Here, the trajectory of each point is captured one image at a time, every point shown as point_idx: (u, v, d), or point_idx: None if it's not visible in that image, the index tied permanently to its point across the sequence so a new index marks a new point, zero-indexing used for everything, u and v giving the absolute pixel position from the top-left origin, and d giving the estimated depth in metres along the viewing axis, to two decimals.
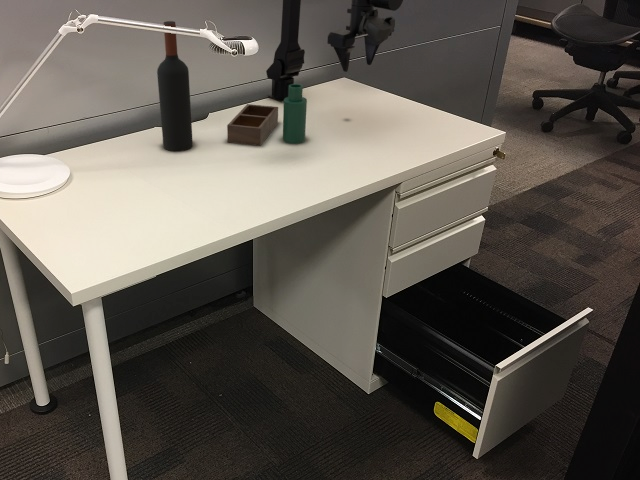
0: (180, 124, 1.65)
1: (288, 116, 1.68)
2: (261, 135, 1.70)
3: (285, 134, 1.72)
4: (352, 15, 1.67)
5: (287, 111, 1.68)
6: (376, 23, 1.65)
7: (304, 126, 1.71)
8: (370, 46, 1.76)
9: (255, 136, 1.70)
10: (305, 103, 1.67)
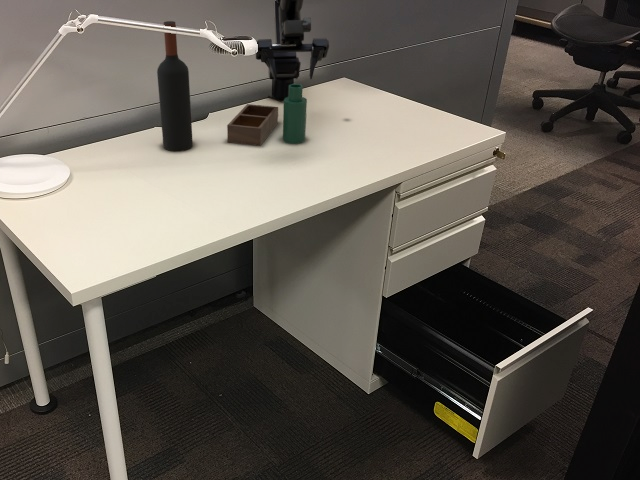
0: (180, 124, 1.65)
1: (288, 116, 1.68)
2: (261, 135, 1.70)
3: (285, 134, 1.72)
4: None
5: (287, 111, 1.68)
6: None
7: (304, 126, 1.71)
8: None
9: (255, 136, 1.70)
10: (305, 103, 1.67)
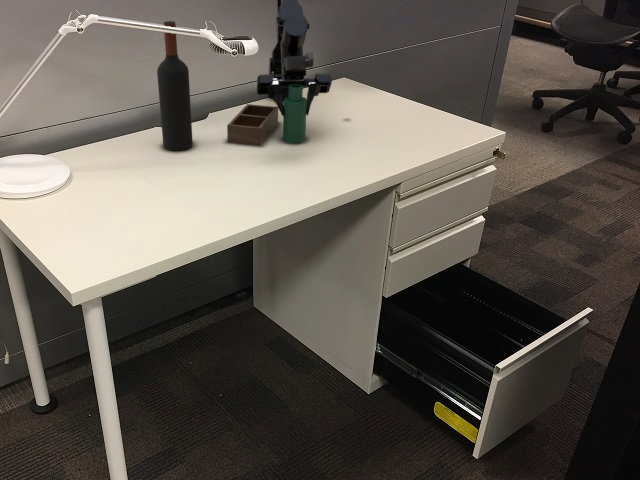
0: (180, 124, 1.65)
1: (288, 116, 1.68)
2: (261, 135, 1.70)
3: (285, 134, 1.72)
4: None
5: (287, 111, 1.68)
6: None
7: (304, 126, 1.71)
8: (307, 98, 1.70)
9: (255, 136, 1.70)
10: (305, 103, 1.67)
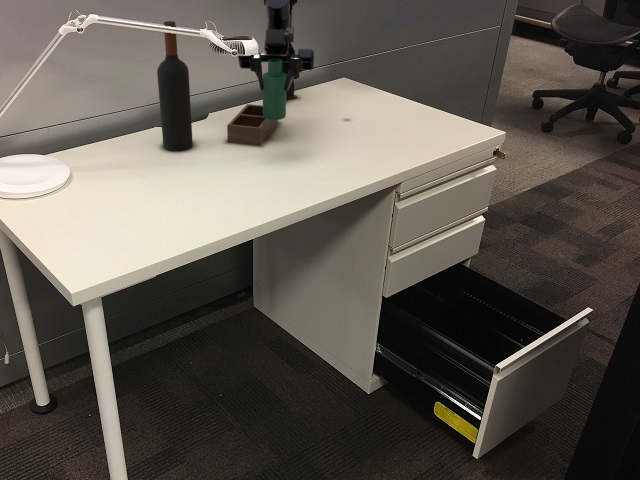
0: (180, 124, 1.65)
1: (266, 91, 1.65)
2: (261, 135, 1.70)
3: (264, 110, 1.69)
4: None
5: (265, 86, 1.65)
6: None
7: (283, 102, 1.67)
8: None
9: (255, 136, 1.70)
10: (284, 78, 1.64)
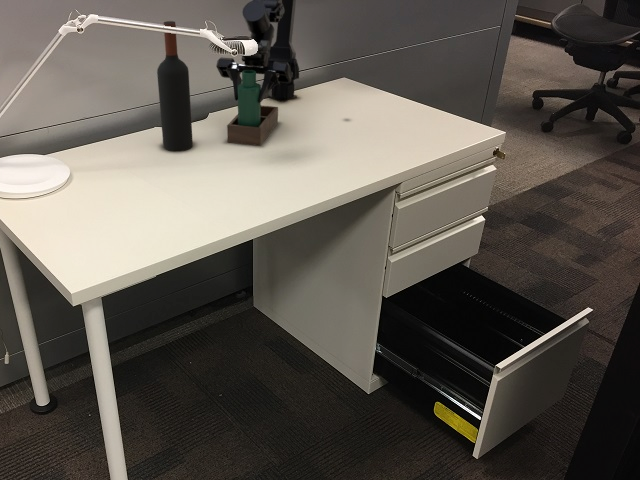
0: (180, 124, 1.65)
1: (239, 101, 1.69)
2: (261, 135, 1.70)
3: (238, 119, 1.72)
4: None
5: (238, 96, 1.68)
6: None
7: (256, 113, 1.70)
8: None
9: (255, 136, 1.70)
10: (256, 90, 1.66)
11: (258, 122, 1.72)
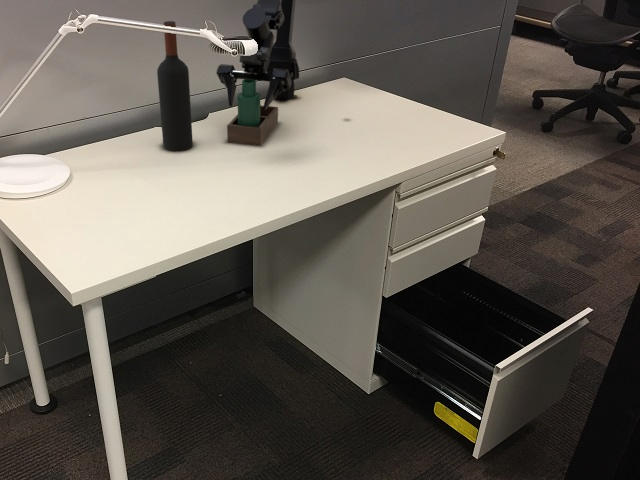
0: (180, 124, 1.65)
1: (239, 110, 1.70)
2: (261, 135, 1.70)
3: None
4: None
5: (238, 105, 1.70)
6: None
7: (256, 122, 1.71)
8: None
9: (255, 136, 1.70)
10: (256, 99, 1.68)
11: None
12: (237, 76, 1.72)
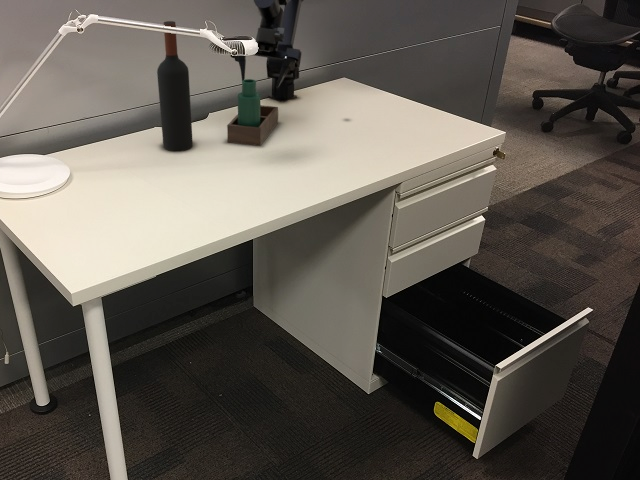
0: (180, 124, 1.65)
1: (239, 110, 1.70)
2: (261, 135, 1.70)
3: None
4: None
5: (238, 105, 1.70)
6: None
7: (256, 122, 1.71)
8: None
9: (255, 136, 1.70)
10: (256, 99, 1.68)
11: None
12: None
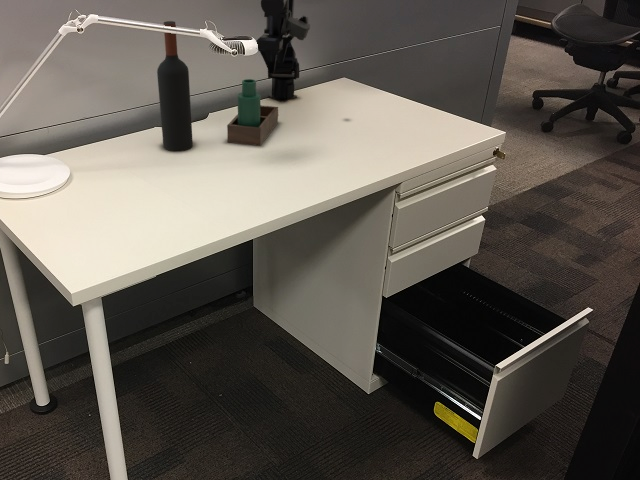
0: (180, 124, 1.65)
1: (239, 110, 1.70)
2: (261, 135, 1.70)
3: None
4: (271, 18, 1.73)
5: (238, 105, 1.70)
6: (297, 23, 1.73)
7: (256, 122, 1.71)
8: None
9: (255, 136, 1.70)
10: (256, 99, 1.68)
11: None
12: None
